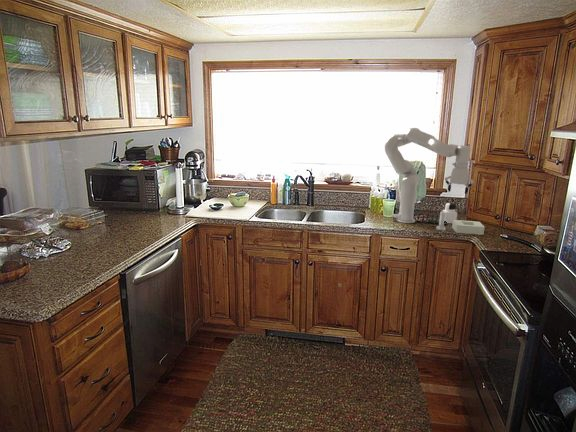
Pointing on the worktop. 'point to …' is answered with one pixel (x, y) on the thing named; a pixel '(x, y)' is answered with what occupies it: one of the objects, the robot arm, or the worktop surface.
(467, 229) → the well block
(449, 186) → the robot arm
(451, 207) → the container
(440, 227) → the bracket
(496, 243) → the worktop surface
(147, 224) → the worktop surface
